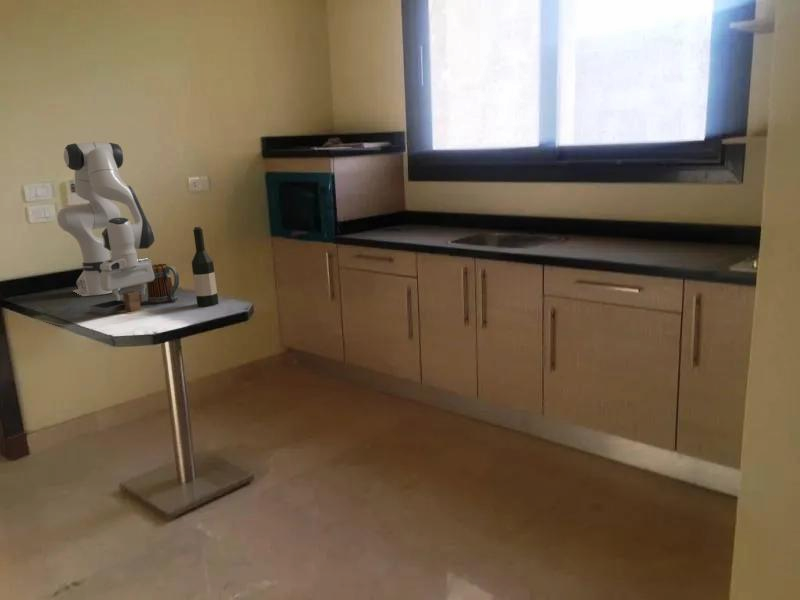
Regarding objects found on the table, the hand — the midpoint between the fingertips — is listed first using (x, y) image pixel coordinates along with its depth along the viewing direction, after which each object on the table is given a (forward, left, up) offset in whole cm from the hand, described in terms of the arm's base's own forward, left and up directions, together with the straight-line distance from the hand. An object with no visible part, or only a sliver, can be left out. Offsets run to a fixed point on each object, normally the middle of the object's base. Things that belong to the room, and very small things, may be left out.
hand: (131, 297), depth 254 cm
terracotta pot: (-12, +7, -6) cm, 15 cm away
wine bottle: (+19, +21, -6) cm, 28 cm away
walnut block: (0, 0, -5) cm, 5 cm away
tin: (-9, -3, -6) cm, 12 cm away
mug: (-1, +16, -6) cm, 17 cm away
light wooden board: (0, 0, -6) cm, 6 cm away
